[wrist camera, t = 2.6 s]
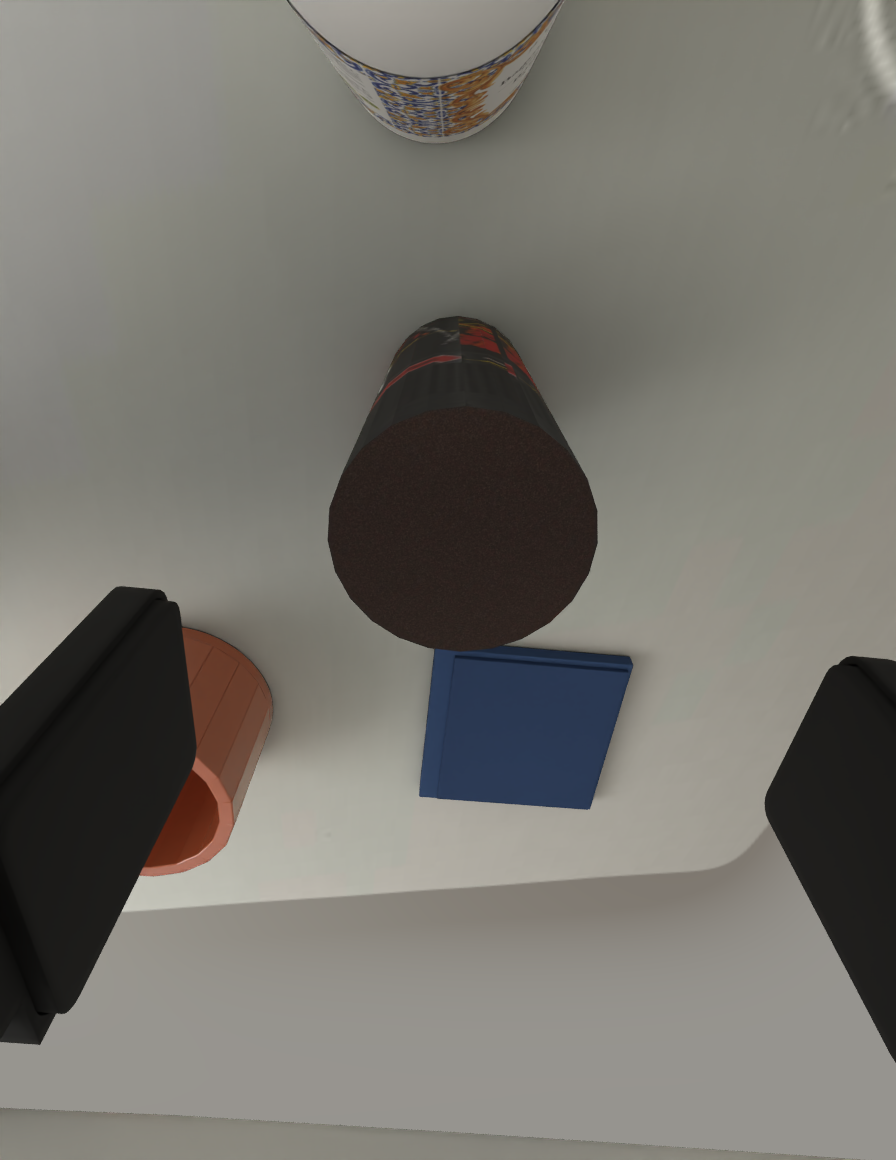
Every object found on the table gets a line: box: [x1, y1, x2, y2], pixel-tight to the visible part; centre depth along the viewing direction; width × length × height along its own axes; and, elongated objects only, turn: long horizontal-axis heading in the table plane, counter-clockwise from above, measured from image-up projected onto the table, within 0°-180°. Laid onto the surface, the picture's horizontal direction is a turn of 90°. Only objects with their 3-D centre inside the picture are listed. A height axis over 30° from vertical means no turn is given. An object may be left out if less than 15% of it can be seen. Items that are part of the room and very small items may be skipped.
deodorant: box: [328, 316, 598, 652], centre depth 20 cm, size 6×6×15 cm
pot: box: [140, 627, 273, 876], centre depth 32 cm, size 10×10×8 cm
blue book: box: [419, 646, 633, 810], centre depth 36 cm, size 10×11×1 cm
